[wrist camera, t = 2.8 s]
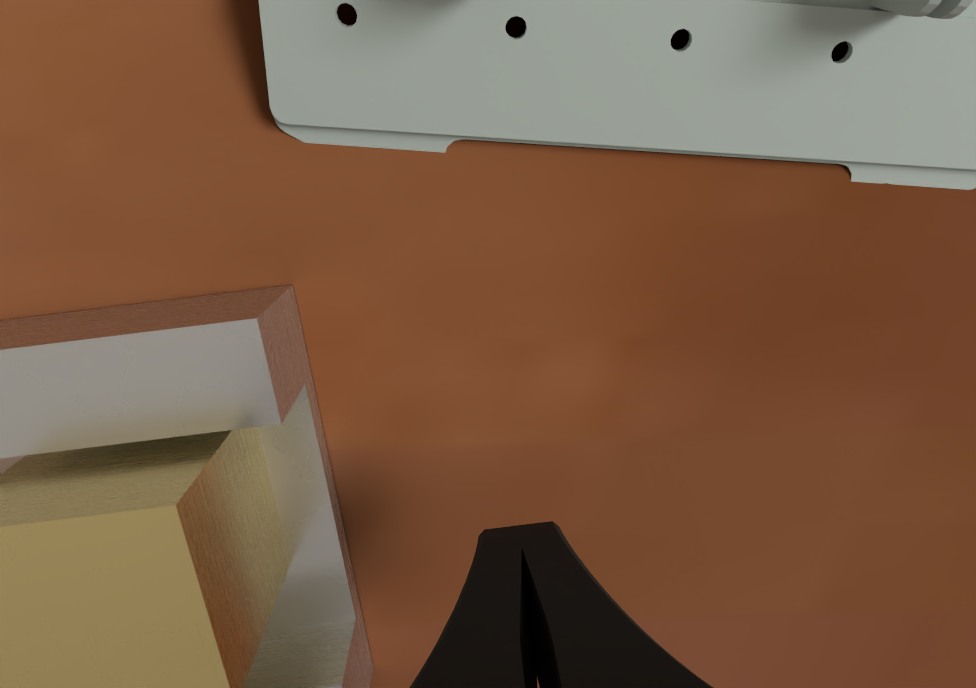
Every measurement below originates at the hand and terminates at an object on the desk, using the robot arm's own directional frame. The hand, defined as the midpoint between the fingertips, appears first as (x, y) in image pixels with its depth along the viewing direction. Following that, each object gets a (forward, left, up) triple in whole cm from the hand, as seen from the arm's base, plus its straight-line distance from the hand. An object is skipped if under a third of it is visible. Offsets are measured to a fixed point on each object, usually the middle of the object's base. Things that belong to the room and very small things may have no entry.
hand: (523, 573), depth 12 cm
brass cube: (+1, +7, -3) cm, 8 cm away
